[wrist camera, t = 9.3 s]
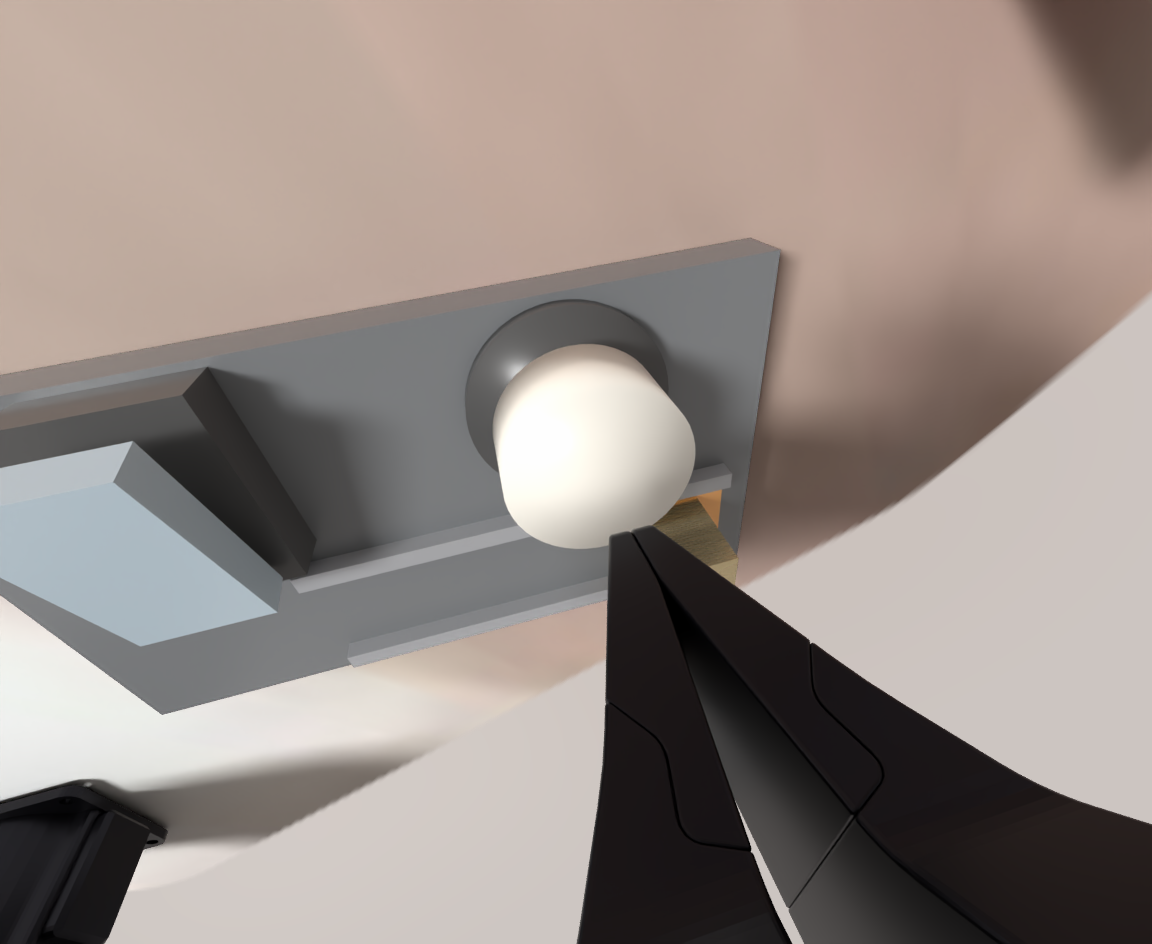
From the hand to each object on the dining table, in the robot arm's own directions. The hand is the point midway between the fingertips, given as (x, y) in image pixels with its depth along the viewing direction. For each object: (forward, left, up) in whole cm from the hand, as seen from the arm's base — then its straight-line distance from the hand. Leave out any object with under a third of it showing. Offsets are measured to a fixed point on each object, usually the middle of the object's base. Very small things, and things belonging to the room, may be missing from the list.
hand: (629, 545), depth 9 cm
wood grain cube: (+3, -6, -6) cm, 9 cm away
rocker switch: (-10, 0, -3) cm, 10 cm away
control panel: (-5, -3, -7) cm, 9 cm away
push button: (0, 0, -4) cm, 4 cm away
